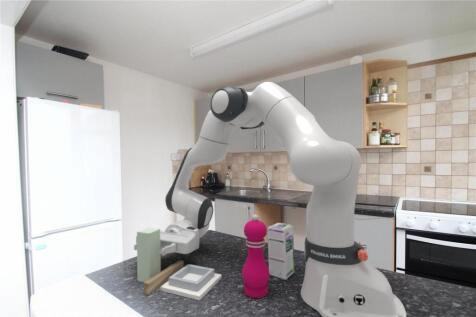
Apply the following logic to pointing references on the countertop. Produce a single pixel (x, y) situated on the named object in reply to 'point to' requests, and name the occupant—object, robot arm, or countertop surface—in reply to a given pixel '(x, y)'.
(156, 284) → the oak board
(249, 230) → the pepper mill
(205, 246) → the countertop surface
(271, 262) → the syrup box
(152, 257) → the sage bar
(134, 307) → the countertop surface
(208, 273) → the grey keeper socket
